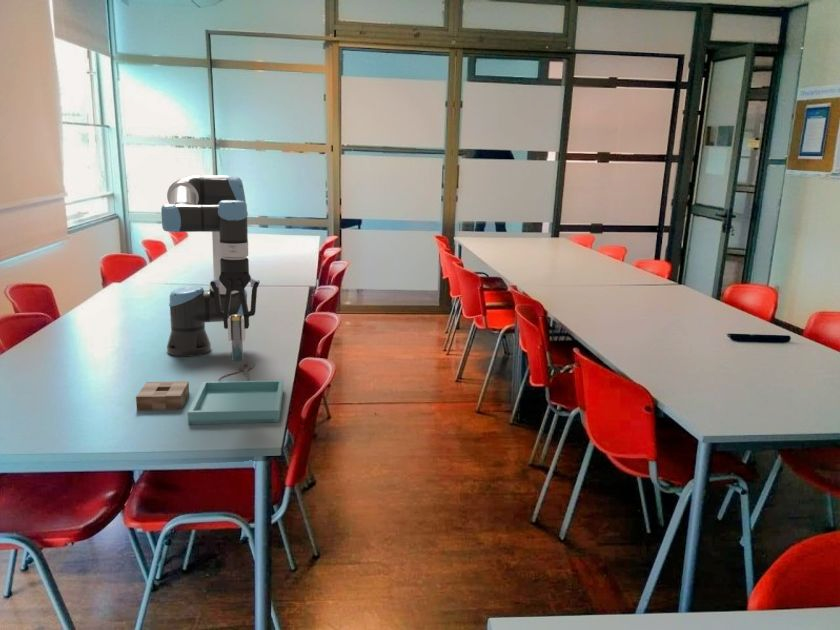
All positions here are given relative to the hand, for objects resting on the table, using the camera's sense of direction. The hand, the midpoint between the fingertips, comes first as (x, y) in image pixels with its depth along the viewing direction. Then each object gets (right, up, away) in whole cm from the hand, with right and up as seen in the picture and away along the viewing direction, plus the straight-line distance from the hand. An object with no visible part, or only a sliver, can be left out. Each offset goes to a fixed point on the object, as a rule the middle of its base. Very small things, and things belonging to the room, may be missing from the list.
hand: (237, 339), depth 183 cm
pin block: (-23, -19, +6) cm, 30 cm away
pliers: (-9, -13, +32) cm, 36 cm away
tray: (-1, -20, +5) cm, 20 cm away
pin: (0, -6, +1) cm, 6 cm away
